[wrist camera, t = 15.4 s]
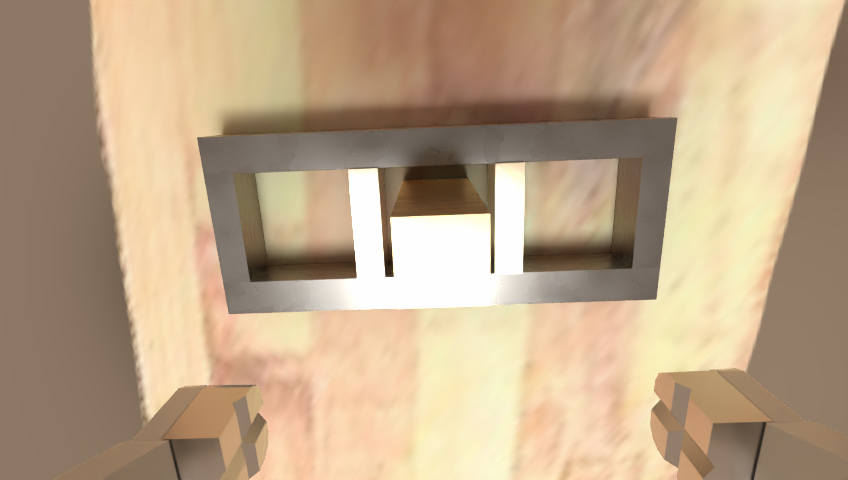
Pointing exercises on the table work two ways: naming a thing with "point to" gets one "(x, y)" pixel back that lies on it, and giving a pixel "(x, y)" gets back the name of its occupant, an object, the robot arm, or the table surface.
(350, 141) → the grey compartment tray
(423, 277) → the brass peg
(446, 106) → the table surface
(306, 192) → the table surface
